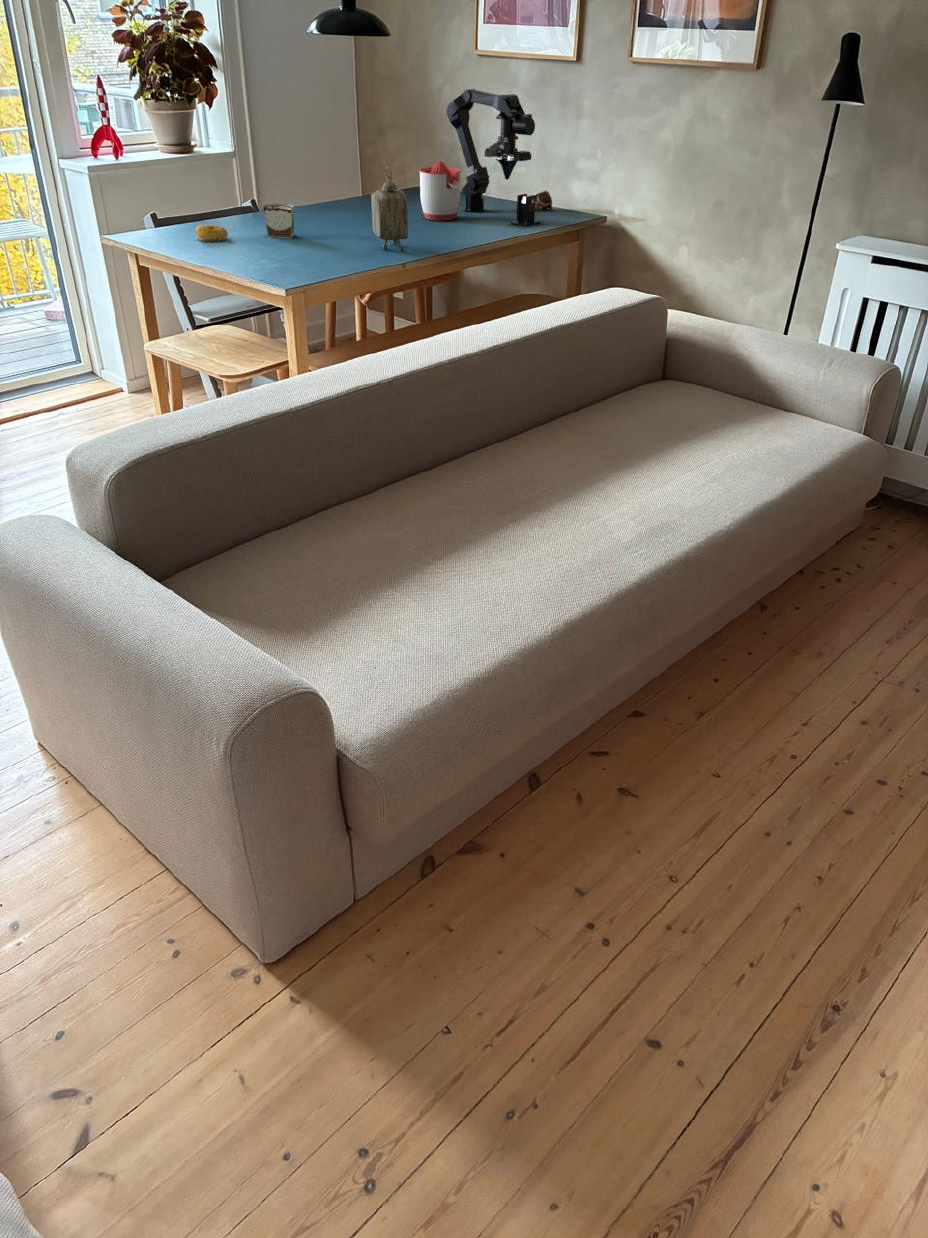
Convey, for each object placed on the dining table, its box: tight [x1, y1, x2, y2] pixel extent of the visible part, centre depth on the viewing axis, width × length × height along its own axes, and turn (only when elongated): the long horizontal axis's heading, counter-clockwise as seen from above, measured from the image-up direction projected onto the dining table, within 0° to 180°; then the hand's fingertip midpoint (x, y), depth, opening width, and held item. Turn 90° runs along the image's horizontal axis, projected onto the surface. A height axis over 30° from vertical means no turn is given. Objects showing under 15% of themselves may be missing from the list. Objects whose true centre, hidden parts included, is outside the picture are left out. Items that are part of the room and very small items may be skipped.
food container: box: [261, 203, 296, 239], centre depth 330 cm, size 12×6×10 cm, turn 71°
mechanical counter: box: [535, 190, 553, 211], centre depth 373 cm, size 7×13×10 cm
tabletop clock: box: [370, 166, 409, 253], centre depth 309 cm, size 14×9×25 cm, turn 17°
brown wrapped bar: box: [521, 196, 546, 207], centre depth 349 cm, size 10×5×2 cm, turn 137°
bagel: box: [195, 224, 229, 243], centre depth 326 cm, size 10×11×5 cm
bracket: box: [509, 193, 541, 228], centre depth 348 cm, size 9×7×10 cm
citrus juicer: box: [418, 160, 462, 222], centre depth 355 cm, size 16×17×20 cm
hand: (507, 179), depth 359 cm, fingers closed
